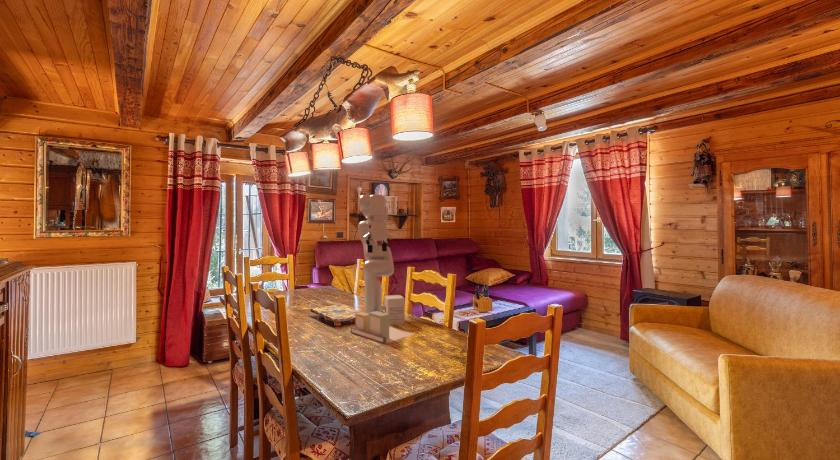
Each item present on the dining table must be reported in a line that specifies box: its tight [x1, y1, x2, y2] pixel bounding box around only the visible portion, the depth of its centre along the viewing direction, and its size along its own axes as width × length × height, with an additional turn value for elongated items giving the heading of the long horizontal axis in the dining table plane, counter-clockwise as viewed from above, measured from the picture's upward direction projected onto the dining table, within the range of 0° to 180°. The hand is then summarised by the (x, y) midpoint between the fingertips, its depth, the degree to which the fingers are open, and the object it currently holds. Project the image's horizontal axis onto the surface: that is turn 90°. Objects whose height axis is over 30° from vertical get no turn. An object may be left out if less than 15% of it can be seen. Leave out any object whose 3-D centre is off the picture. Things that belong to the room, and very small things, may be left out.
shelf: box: [350, 326, 415, 345], centre depth 187 cm, size 19×24×4 cm
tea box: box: [369, 311, 390, 339], centre depth 181 cm, size 5×9×11 cm, turn 47°
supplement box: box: [383, 294, 406, 326], centre depth 205 cm, size 9×9×15 cm
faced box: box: [354, 311, 369, 332], centre depth 188 cm, size 4×7×9 cm, turn 47°
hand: (377, 251), depth 204 cm, fingers open, 9 cm apart
